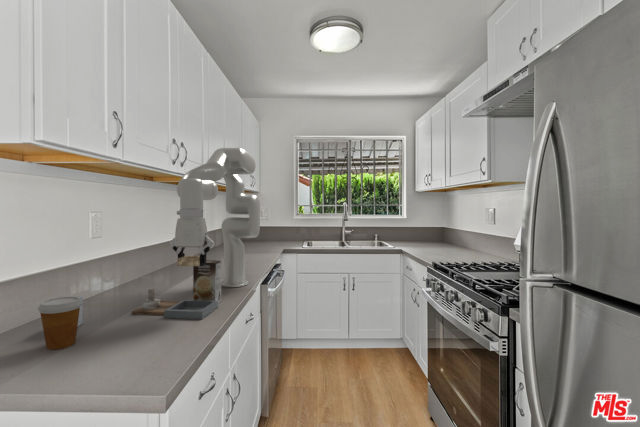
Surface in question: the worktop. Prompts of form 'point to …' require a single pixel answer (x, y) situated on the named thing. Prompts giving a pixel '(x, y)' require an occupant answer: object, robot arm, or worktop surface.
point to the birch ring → (188, 261)
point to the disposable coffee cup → (60, 321)
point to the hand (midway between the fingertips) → (192, 264)
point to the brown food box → (207, 281)
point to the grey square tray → (191, 309)
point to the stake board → (157, 311)
